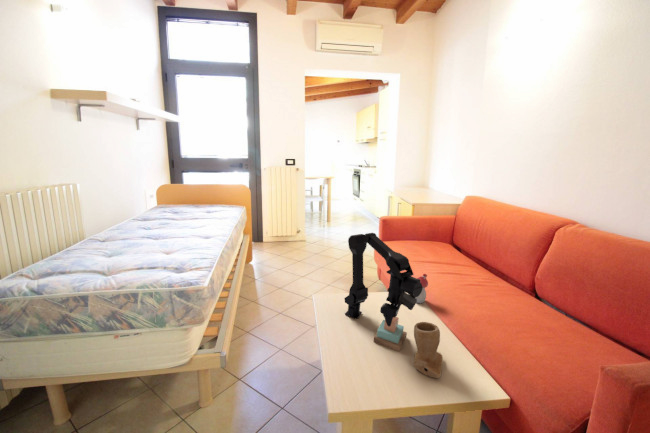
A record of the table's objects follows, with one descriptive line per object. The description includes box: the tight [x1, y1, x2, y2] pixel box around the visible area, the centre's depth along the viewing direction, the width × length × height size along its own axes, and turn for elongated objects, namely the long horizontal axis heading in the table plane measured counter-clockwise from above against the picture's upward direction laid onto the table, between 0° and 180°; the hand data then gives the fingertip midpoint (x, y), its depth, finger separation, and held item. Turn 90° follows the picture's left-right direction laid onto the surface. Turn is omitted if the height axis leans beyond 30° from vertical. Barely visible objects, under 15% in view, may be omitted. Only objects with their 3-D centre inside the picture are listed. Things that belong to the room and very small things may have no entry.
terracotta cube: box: [384, 316, 399, 333], centre depth 128 cm, size 4×4×4 cm
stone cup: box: [413, 321, 443, 379], centre depth 114 cm, size 15×12×15 cm
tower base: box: [373, 330, 408, 352], centre depth 129 cm, size 11×11×3 cm
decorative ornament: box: [415, 273, 429, 304], centre depth 163 cm, size 9×6×15 cm
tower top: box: [376, 319, 405, 343], centre depth 128 cm, size 9×9×3 cm
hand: (392, 320), depth 127 cm, fingers open, 9 cm apart
